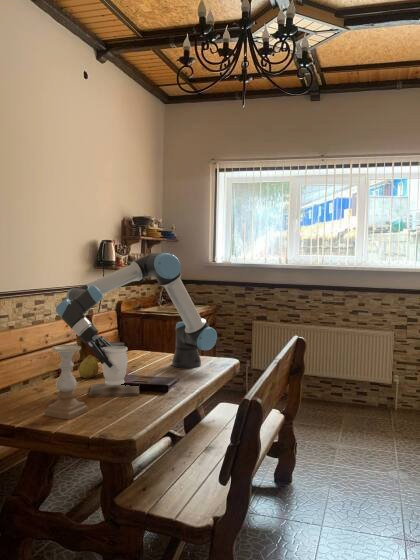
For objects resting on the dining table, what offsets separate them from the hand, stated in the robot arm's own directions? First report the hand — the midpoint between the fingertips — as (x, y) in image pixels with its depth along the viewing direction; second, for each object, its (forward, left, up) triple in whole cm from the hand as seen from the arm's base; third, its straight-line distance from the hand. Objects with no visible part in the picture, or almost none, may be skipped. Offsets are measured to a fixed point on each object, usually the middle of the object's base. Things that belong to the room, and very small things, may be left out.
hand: (121, 369), depth 206 cm
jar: (+3, -1, -6) cm, 7 cm away
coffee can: (+5, -35, -10) cm, 36 cm away
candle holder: (+19, +27, -10) cm, 34 cm away
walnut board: (+3, -1, -9) cm, 10 cm away
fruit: (+16, -26, -10) cm, 32 cm away
